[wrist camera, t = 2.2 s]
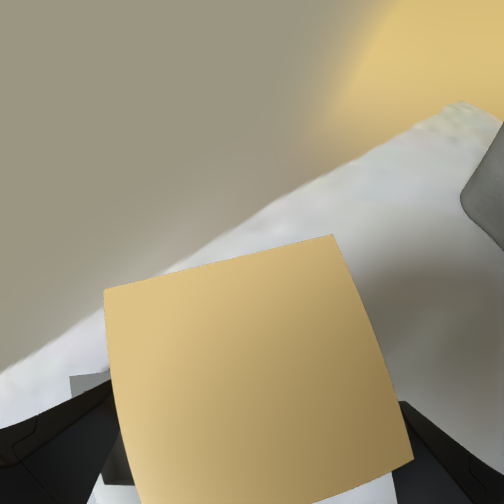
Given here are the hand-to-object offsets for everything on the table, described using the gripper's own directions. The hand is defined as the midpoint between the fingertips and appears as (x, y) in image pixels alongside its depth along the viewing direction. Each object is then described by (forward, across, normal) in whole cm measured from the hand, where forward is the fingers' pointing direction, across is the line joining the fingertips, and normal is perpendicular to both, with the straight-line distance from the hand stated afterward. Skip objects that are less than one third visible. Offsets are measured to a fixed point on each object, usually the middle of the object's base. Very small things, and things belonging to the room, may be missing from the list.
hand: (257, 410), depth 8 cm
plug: (+6, 0, +6) cm, 8 cm away
